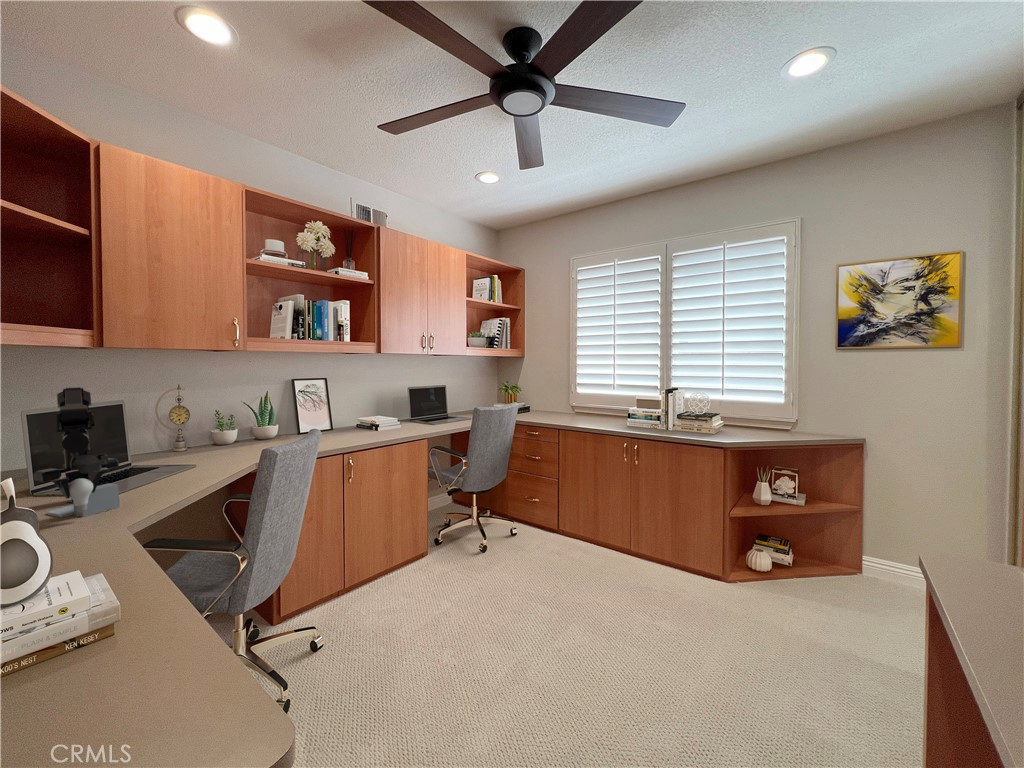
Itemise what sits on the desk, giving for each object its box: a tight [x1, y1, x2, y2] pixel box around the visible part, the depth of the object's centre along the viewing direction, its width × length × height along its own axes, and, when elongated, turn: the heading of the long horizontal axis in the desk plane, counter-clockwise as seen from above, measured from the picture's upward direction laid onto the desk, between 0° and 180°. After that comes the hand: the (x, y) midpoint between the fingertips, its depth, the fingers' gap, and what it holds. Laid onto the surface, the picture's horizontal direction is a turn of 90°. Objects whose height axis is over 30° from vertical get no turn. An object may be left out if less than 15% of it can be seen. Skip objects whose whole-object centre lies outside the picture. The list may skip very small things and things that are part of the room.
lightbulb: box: [68, 478, 93, 513], centre depth 137 cm, size 6×6×11 cm
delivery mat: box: [45, 504, 74, 518], centre depth 146 cm, size 9×9×1 cm
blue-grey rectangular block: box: [72, 482, 121, 518], centre depth 146 cm, size 5×10×8 cm, turn 160°
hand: (80, 495), depth 137 cm, fingers closed on lightbulb, 6 cm apart
